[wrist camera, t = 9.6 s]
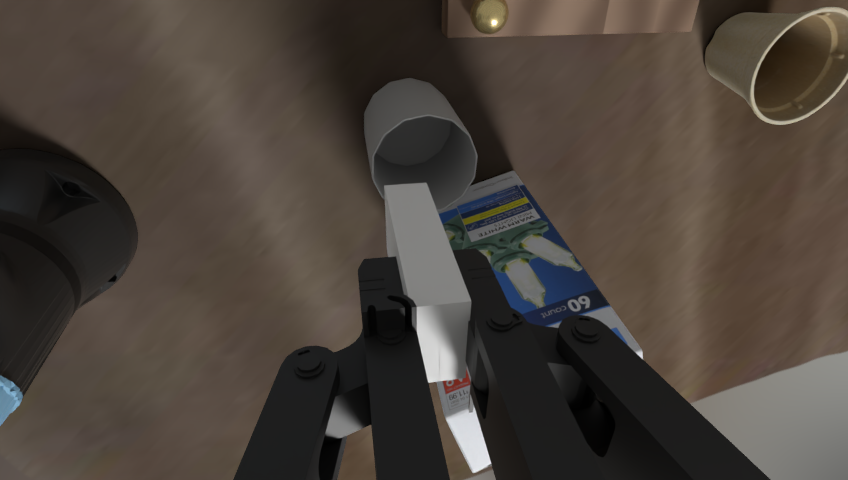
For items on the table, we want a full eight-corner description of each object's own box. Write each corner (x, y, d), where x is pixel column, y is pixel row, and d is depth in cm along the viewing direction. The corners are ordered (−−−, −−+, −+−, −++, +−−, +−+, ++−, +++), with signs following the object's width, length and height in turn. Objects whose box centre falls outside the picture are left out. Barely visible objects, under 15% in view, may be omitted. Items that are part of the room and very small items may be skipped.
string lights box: (514, 167, 51) (649, 345, 30) (528, 225, 55) (654, 417, 34) (394, 211, 52) (442, 418, 30) (417, 265, 56) (473, 480, 34)
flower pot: (798, 35, 48) (879, 56, 41) (719, 113, 52) (782, 144, 44) (751, -31, 44) (833, -21, 37) (669, 58, 47) (730, 83, 40)
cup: (389, 61, 43) (404, 94, 35) (467, 102, 47) (497, 142, 38) (349, 143, 47) (353, 191, 39) (423, 176, 50) (442, 227, 42)
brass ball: (465, 31, 41) (474, 38, 38) (467, -10, 39) (476, -5, 36) (500, 30, 41) (511, 37, 38) (504, -11, 39) (515, -6, 37)
